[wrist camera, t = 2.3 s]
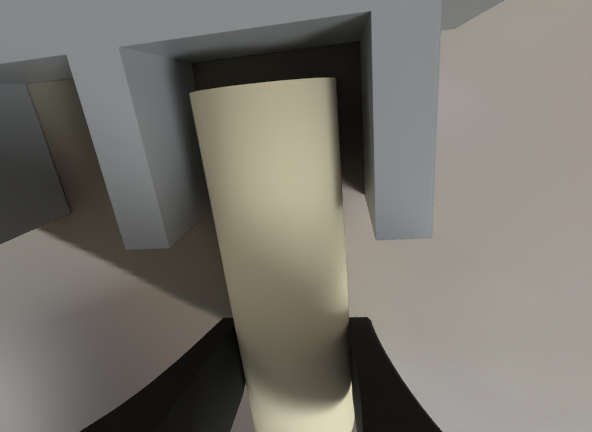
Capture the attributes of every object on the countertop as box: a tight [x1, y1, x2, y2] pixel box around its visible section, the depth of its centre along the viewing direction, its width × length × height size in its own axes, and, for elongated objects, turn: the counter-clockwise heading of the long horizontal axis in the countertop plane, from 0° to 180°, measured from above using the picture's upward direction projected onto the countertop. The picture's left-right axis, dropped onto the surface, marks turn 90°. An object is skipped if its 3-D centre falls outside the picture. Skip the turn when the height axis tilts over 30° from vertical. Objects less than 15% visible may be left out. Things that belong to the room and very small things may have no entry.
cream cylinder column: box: [189, 78, 354, 432], centre depth 10 cm, size 13×4×4 cm, turn 6°
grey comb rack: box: [0, 0, 504, 250], centre depth 9 cm, size 6×22×4 cm, turn 96°
